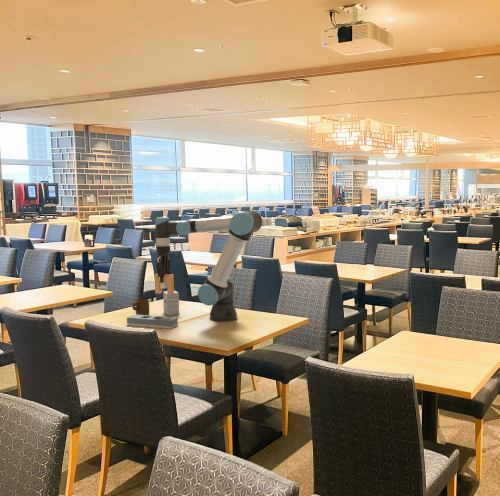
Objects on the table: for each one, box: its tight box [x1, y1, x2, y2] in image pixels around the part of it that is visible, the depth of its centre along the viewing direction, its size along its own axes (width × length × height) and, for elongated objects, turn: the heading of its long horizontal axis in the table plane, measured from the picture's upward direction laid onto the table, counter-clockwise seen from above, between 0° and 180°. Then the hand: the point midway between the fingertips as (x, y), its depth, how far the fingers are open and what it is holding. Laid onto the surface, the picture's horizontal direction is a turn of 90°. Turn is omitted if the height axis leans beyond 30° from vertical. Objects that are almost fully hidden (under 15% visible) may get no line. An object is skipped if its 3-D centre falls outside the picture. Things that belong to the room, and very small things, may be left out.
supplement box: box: [162, 290, 180, 316], centre depth 330 cm, size 7×7×13 cm
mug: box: [131, 298, 150, 316], centre depth 322 cm, size 12×8×9 cm, turn 151°
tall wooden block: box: [154, 273, 175, 295], centre depth 313 cm, size 10×3×10 cm, turn 70°
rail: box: [126, 314, 179, 329], centre depth 302 cm, size 26×8×4 cm, turn 70°
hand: (164, 287), depth 313 cm, fingers closed on tall wooden block, 3 cm apart
